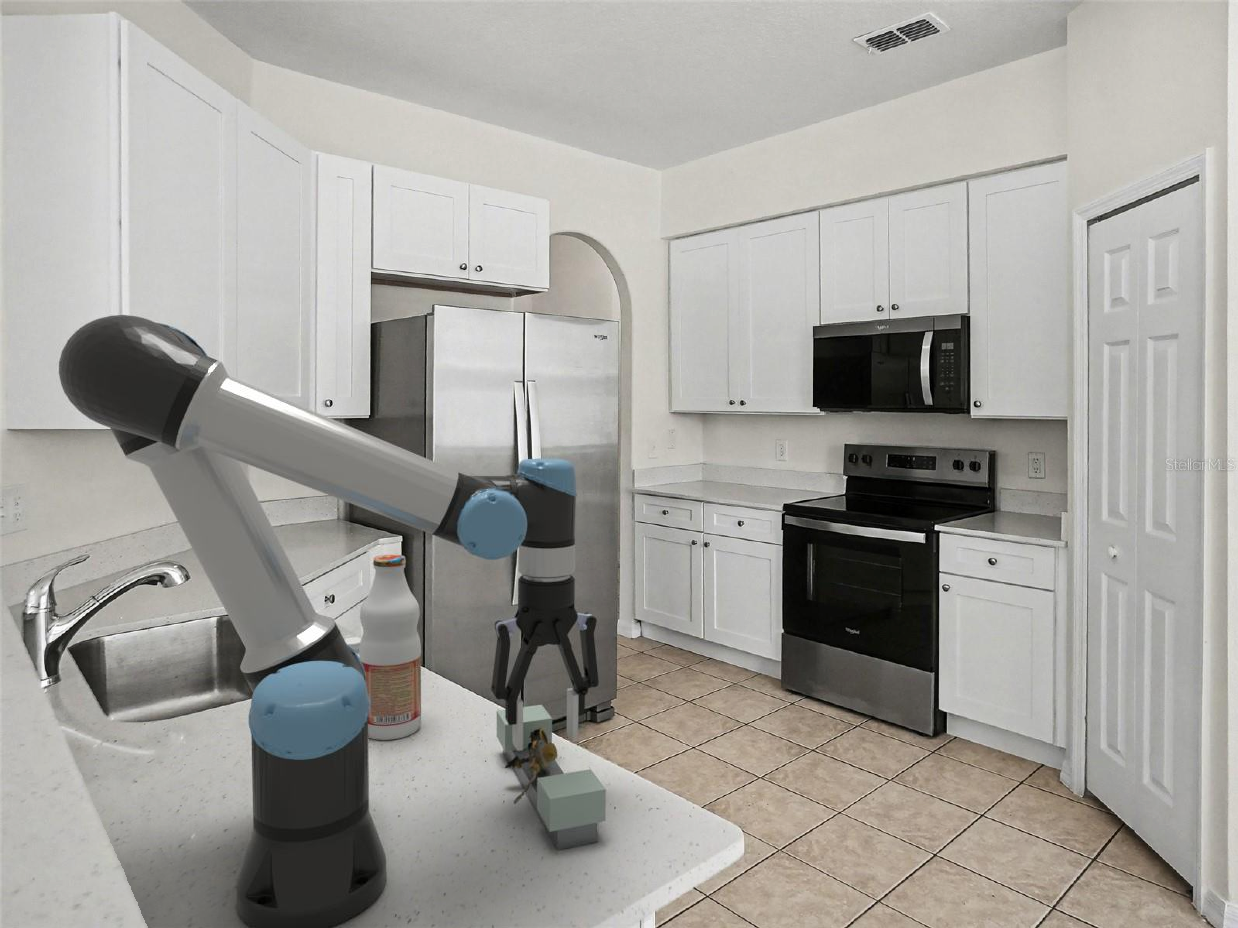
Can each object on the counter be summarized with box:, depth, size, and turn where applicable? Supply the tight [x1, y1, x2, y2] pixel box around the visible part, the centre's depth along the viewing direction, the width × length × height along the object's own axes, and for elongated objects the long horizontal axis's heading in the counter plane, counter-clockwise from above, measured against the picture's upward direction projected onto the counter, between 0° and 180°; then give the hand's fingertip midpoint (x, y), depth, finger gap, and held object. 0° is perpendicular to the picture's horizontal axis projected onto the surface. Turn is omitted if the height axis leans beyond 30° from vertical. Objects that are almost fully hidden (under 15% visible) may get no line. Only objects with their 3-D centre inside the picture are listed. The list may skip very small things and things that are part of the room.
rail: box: [502, 748, 599, 851], centre depth 108 cm, size 5×28×2 cm, turn 21°
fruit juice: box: [359, 554, 422, 741], centre depth 127 cm, size 9×9×28 cm
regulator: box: [504, 728, 558, 804], centre depth 107 cm, size 8×4×15 cm
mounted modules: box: [496, 704, 607, 832], centre depth 108 cm, size 7×28×4 cm, turn 21°
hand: (545, 741), depth 108 cm, fingers open, 7 cm apart
